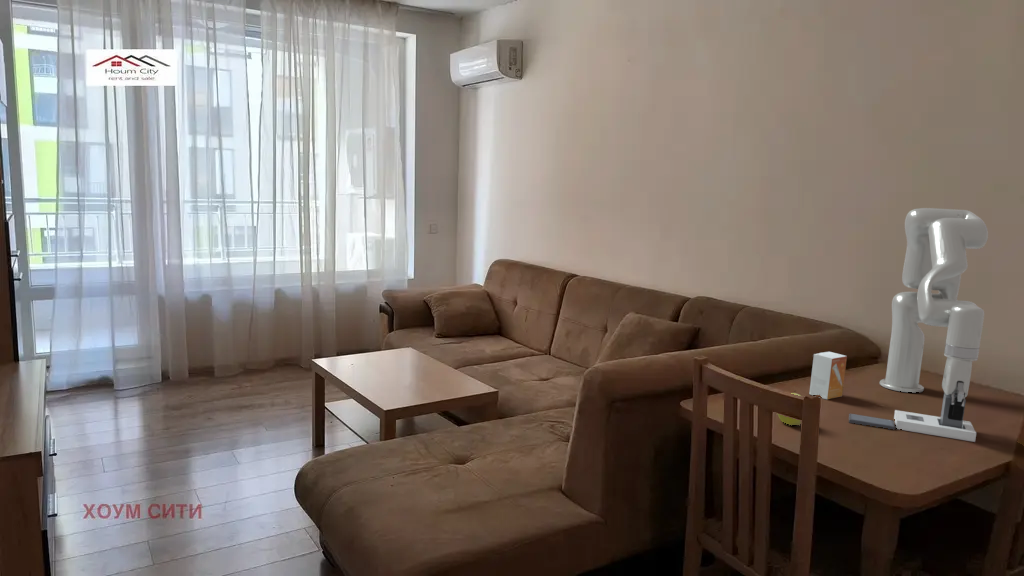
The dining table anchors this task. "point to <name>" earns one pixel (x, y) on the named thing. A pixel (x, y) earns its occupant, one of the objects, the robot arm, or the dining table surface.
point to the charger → (944, 413)
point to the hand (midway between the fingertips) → (952, 414)
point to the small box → (828, 375)
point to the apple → (789, 420)
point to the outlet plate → (932, 426)
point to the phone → (871, 421)
